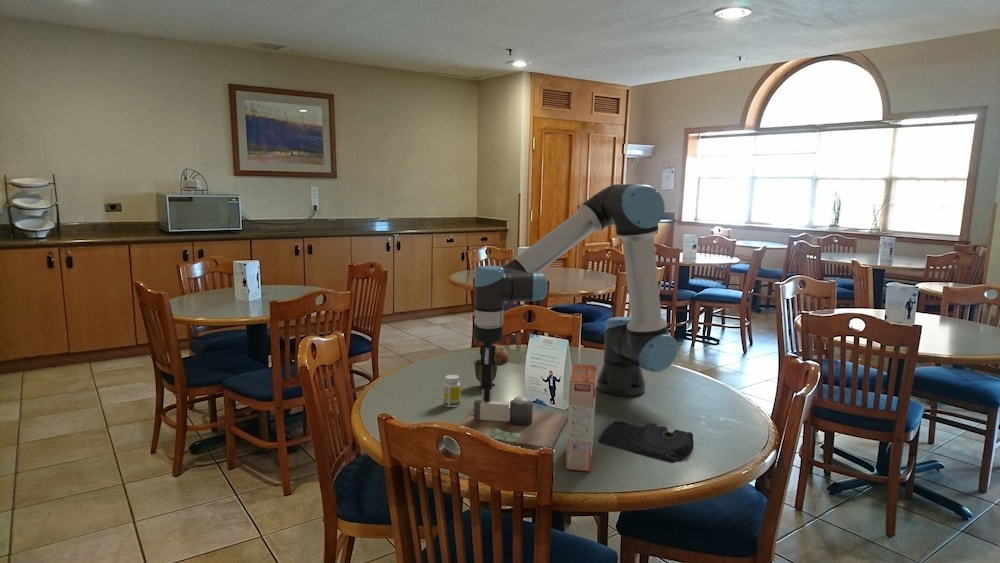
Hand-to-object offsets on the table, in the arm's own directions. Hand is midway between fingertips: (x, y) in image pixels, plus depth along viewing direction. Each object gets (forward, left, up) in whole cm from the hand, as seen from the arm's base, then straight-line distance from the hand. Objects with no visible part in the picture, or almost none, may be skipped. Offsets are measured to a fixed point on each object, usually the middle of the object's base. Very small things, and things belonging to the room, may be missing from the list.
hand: (486, 411), depth 161 cm
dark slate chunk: (-42, -1, -4) cm, 42 cm away
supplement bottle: (+13, -9, -3) cm, 17 cm away
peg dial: (-5, +1, -2) cm, 5 cm away
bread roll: (+16, -57, -3) cm, 60 cm away
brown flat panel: (-7, +3, -3) cm, 8 cm away
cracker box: (-28, +14, -3) cm, 31 cm away
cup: (+9, -28, -3) cm, 30 cm away
